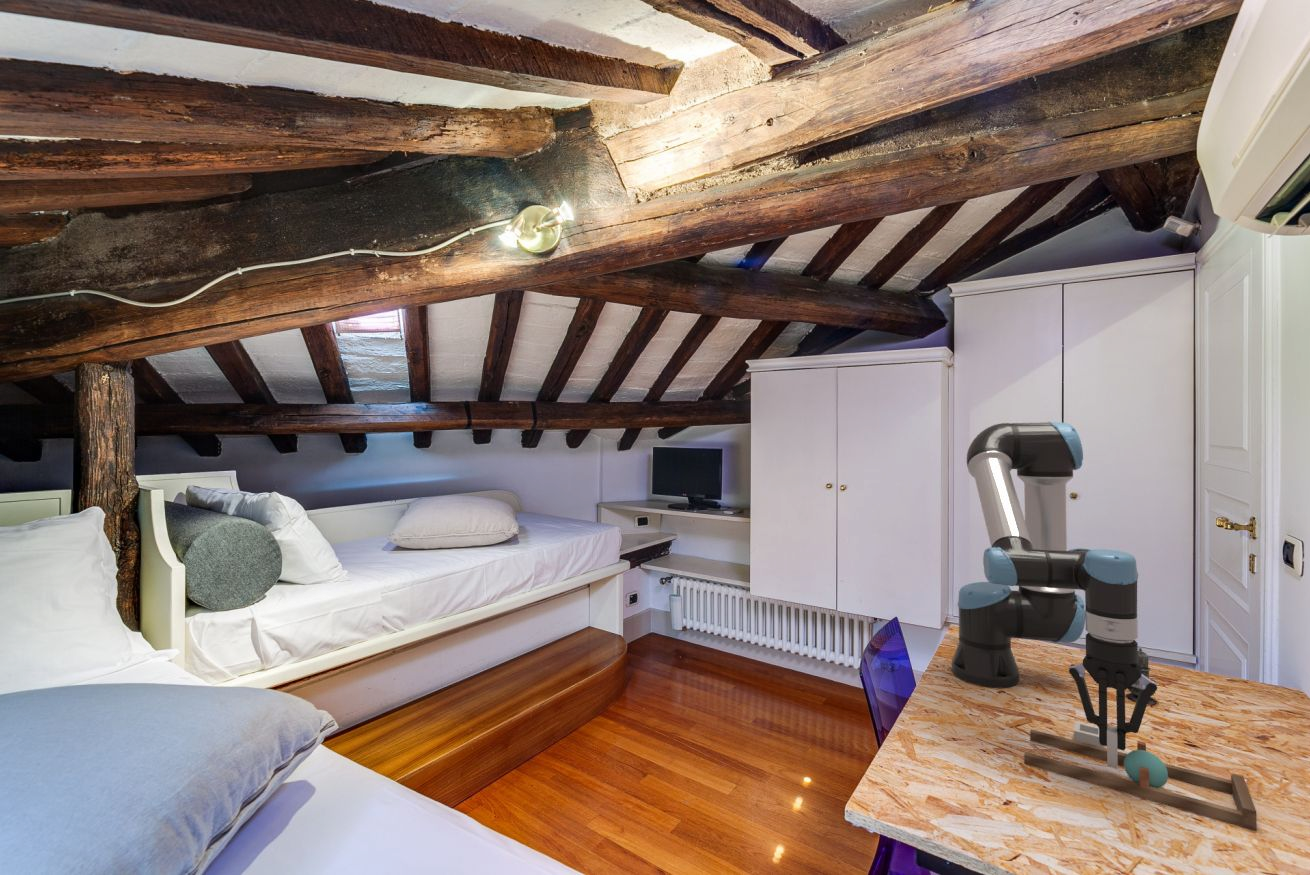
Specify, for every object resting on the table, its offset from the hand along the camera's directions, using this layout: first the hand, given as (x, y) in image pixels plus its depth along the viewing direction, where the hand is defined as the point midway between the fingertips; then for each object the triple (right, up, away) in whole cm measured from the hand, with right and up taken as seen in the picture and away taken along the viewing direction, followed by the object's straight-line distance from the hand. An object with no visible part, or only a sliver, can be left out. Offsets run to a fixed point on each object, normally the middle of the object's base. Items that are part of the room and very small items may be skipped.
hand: (1112, 764), depth 107 cm
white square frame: (+5, -2, +12) cm, 13 cm away
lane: (+2, -2, -1) cm, 3 cm away
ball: (+3, +1, -4) cm, 5 cm away
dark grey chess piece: (+29, -1, +28) cm, 41 cm away
